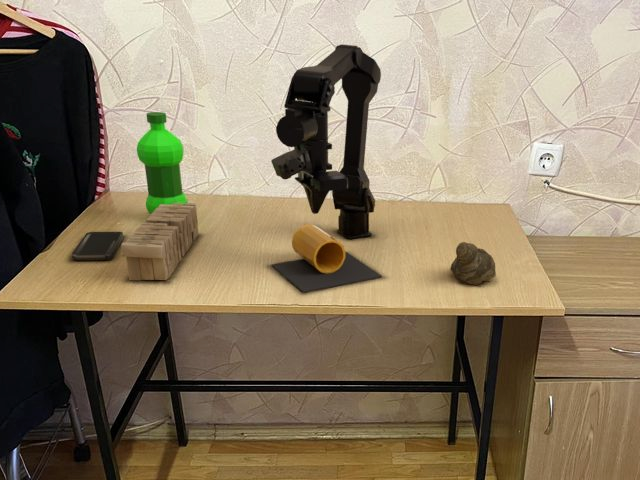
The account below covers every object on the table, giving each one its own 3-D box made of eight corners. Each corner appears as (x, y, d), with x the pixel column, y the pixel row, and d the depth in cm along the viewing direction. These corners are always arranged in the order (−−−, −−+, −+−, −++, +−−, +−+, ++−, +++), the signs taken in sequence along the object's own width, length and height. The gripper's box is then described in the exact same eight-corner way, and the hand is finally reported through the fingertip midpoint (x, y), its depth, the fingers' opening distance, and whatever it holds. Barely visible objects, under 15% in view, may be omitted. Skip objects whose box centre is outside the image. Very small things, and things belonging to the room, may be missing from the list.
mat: (345, 253, 163) (345, 251, 163) (381, 277, 151) (381, 275, 151) (271, 266, 153) (271, 264, 153) (303, 293, 142) (303, 291, 142)
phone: (70, 255, 149) (87, 231, 162) (71, 260, 149) (88, 236, 162) (110, 255, 150) (124, 231, 163) (111, 260, 151) (125, 236, 164)
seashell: (433, 243, 154) (445, 259, 145) (479, 213, 153) (494, 228, 145) (458, 283, 160) (471, 301, 151) (502, 255, 159) (518, 271, 150)
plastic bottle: (144, 226, 171) (129, 117, 159) (149, 212, 180) (135, 109, 168) (189, 225, 173) (177, 118, 161) (191, 211, 182) (180, 109, 170)
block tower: (166, 237, 167) (124, 282, 141) (161, 202, 164) (118, 241, 137) (200, 238, 168) (165, 284, 142) (197, 203, 164) (160, 243, 138)
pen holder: (322, 222, 157) (345, 237, 149) (322, 253, 161) (345, 270, 153) (291, 226, 153) (313, 242, 146) (292, 258, 157) (314, 276, 149)
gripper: (257, 130, 145) (261, 205, 153) (296, 150, 132) (298, 231, 139) (307, 127, 151) (309, 199, 159) (349, 146, 138) (349, 224, 145)
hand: (315, 213), depth 150 cm, fingers closed
